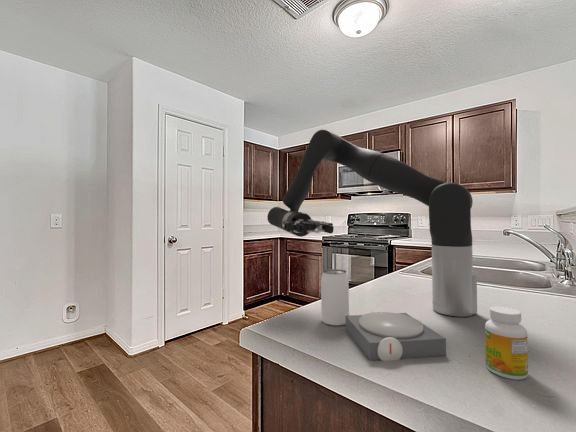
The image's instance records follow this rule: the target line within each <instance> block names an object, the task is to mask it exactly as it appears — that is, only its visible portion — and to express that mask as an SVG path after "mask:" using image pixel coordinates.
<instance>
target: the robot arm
mask: <svg viewBox="0 0 576 432" xmlns="http://www.w3.org/2000/svg"><path fill="white" fill-rule="evenodd" d="M323 160H325V161H330V162H333V163H337V164H339V165H342V166H344V167H347V168H349V169H350V170H351V171H353V172H355V174H356V175H358V176H360V177H361V178H363V179H364V180H366V181H368V182H370V183H372V184H374V185H376V186H378V187H380V188H383V189H385V190H388V191H390V192H393V193H396V194H399V195H403V196H406V197H409V198H412V199H414V200H416V201H418V202H419V203H421V204H424V205H425V206H427V207H428V220H429V221H428V222H429V224H428V225H429V235H430V238H431V269H432V270H431V276H432V277H431V282H432V283H431V284H432V288H431V289H432V310H433V311H434V312H436V313H439V314H442V315H445V316H450V317H460V318H462V317H471V316H473V315H477V314H478V279H477V278H478V277H477V276H476V275H475V274H474V272H473V270H474V268H473V267H474V264H473V261H474V259H473V233H472V219H471V218H472V216H471V209H472V206H473V203H474V202H473V196H472V194H471V192H470V191H469V190H468V189H467V188H466V187H465V186H463V185H461V184H459V183H456V182H445V181H443V180H439V179H436V178H434V177H431V176H428V175H427V174H424V173H422V172H420V171H419V170H417V169H416V168H414V167H412V166H411V165H409V164H407V163H405V162H403V161H401V160H399V159H397V158H395V157H393V156H390V155H388V154H385V153H384V152H380V151H377V150H373V149H369V148H364V147H360V146H357V145H355V144H353V143H351V142H350V141H348V140H346V139H344V138H343V137H341V136H340V135H338V134H336V133H334V132H333V131H331V130H328V129H324V128H322V129H319V130H317V131H315V132H314V134H313V135H312V137H311V139H310V140H309V142H308V145H307V147H306V151H305V152H304V155H303V158H302V160H301V163H300V165H299V168H298V169H297V173H296V174H295V176H294V178H293V180H292V182H291V183H290V185H289V187H288V189H287V190H286V192H285V194H284V195H283V197H282V203H283V205H284V206H286V207H287V208H288V209H289V210H287V209H284V208H281V207H280V206H274V207H272V208H271V209H270V210H269V211H268V212H267V221H268V223H269V224H270V225H271V226H274V227H276V228H279V229H281V230H283V231H285V232H286V233H290V234H292V235H293V236H296V237H300V238H301V237H306V236H308V235H309V234H310V233H316V234H320V233H327V234H333V233H334V223H332V222H327V221H324V220H314V219H312V217H311V216H310V215H309V214H308V213H306V212H301V211H299V210H300V208H301V206H302V204H303V203H304V201H305V199H306V198H307V196H308V194H309V192H310V190H311V187H312V182H313V178H314V175H315V172H316V170H317V168H318V166H319V164H320V163H322V161H323Z"/></svg>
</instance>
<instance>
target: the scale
mask: <svg viewBox="0 0 576 432" xmlns="http://www.w3.org/2000/svg"><path fill="white" fill-rule="evenodd" d="M345 318H346V325H345V330H346V332H347V333H348V335H350V337H351V338H352V339H353V341H354V343H356V345H357V346H358V347H359V348H360V349H361V351H362V352H363V353H364V355H365V356H366V357H367V358H368V359H369V361H380V360H381V362H388V361H399V360H400V359H412V358H425V357H426V358H427V357H429V358H430V357H442V356H444V357H445V356H447V339H446V338H445V337H444V336H443V335H441V334H439V333H438V332H436V331H435V330H433V329H432V328H430V327H429V326H427V325H426V324H424V323H422V322H421V320H419V319H416V318H415V317H413V316H411V315H410V314H408V313H407V312H397V313H396V312H390V311H388V312H387V311H375V312H369V313H365V314H352V315H350V314H349V316H345Z"/></svg>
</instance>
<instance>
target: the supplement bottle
mask: <svg viewBox="0 0 576 432" xmlns="http://www.w3.org/2000/svg"><path fill="white" fill-rule="evenodd" d="M489 317H490V318H491V319H488V320H487V321H486V322H485V324H484V337H485V338H484V341H485V343H484V345H485V346H484V349H485V350H484V351H485V352H484V355H485V357H484V358H485V366H486V367H485V368H486V369H487V370H489V371H490V372H491V373H493V374H495V375H496V376H499V377H502V378H506V379H509V380H515V381H518V380H519V381H520V380H525V379H527V377H528V375H529V358H528V357H529V356H528V355H529V354H528V353H529V351H528V347H529V346H528V330H527V329H526V327H525V326H524V325H523V324H520V323H521V321H522V312H521V311H520V310H518V309H515V308H513V307H512V308H511V307H506V306H496V305H495V306H491V307H489Z"/></svg>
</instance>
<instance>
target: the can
mask: <svg viewBox="0 0 576 432" xmlns="http://www.w3.org/2000/svg"><path fill="white" fill-rule="evenodd" d="M320 285H321V286H320V290H321V291H320V292H321V293H320V295H321V296H320V297H321V299H320V300H321V303H320V304H321V321H322V322H323V324H325V325H327V326H331V327H341V326H346V318H345V316H350V299H349V297H350V296H349V295H350V292H349V291H350V289H349V288H350V287H349V276H348V274H347V270H345V269H339V268H329V269H324V270H322V275H321V278H320Z"/></svg>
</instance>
